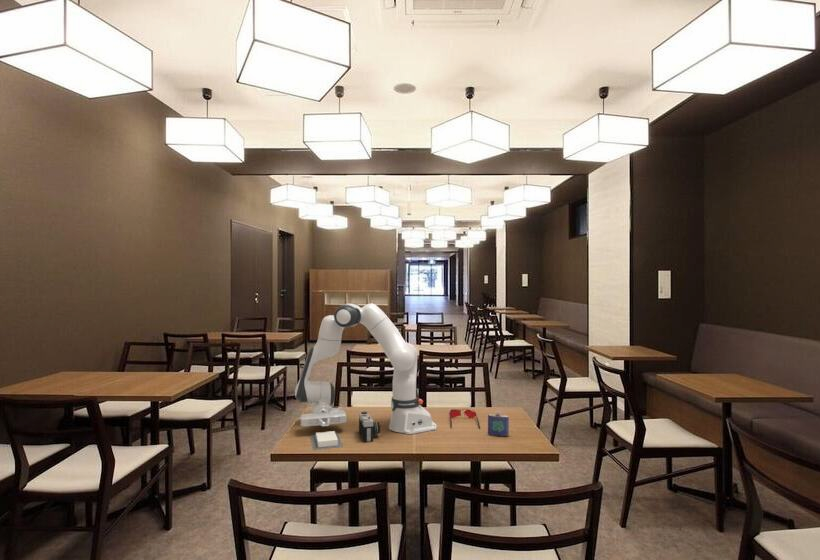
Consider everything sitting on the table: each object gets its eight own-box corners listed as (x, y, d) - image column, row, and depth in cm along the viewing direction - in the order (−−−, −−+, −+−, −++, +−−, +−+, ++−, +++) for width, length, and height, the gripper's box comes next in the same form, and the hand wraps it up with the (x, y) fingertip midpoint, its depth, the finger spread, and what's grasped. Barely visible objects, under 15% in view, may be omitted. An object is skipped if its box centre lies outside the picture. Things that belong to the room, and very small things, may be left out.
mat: (337, 433, 196) (337, 432, 196) (343, 448, 178) (343, 447, 178) (310, 435, 192) (310, 434, 192) (313, 451, 175) (313, 450, 175)
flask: (508, 435, 195) (508, 411, 195) (508, 437, 192) (508, 413, 192) (487, 433, 197) (488, 410, 197) (487, 435, 194) (487, 411, 194)
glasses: (476, 418, 220) (476, 408, 220) (480, 429, 203) (480, 419, 203) (448, 418, 220) (448, 408, 220) (450, 429, 204) (450, 418, 204)
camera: (381, 442, 185) (380, 419, 185) (359, 444, 183) (359, 420, 183) (379, 431, 198) (378, 409, 198) (358, 433, 197) (358, 411, 197)
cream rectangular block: (334, 431, 190) (337, 439, 179) (334, 436, 190) (337, 446, 179) (315, 432, 188) (318, 441, 177) (315, 438, 188) (318, 448, 177)
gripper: (299, 409, 198) (300, 419, 185) (344, 406, 204) (348, 415, 191) (299, 423, 198) (300, 434, 185) (343, 419, 204) (348, 429, 191)
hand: (325, 424), depth 188 cm, fingers closed
